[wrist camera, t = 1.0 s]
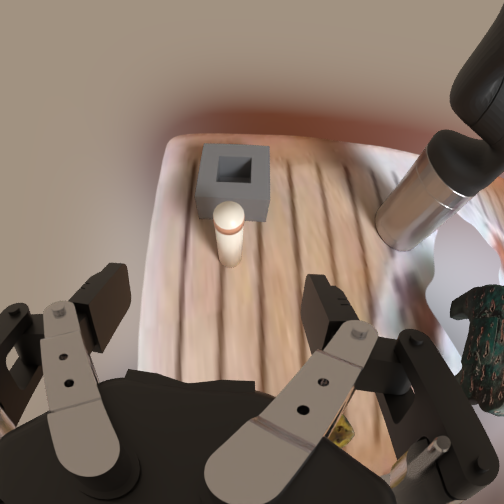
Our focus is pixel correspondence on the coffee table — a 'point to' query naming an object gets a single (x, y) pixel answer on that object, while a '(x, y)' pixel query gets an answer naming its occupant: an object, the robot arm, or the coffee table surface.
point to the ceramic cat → (483, 347)
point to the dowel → (229, 232)
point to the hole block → (234, 179)
